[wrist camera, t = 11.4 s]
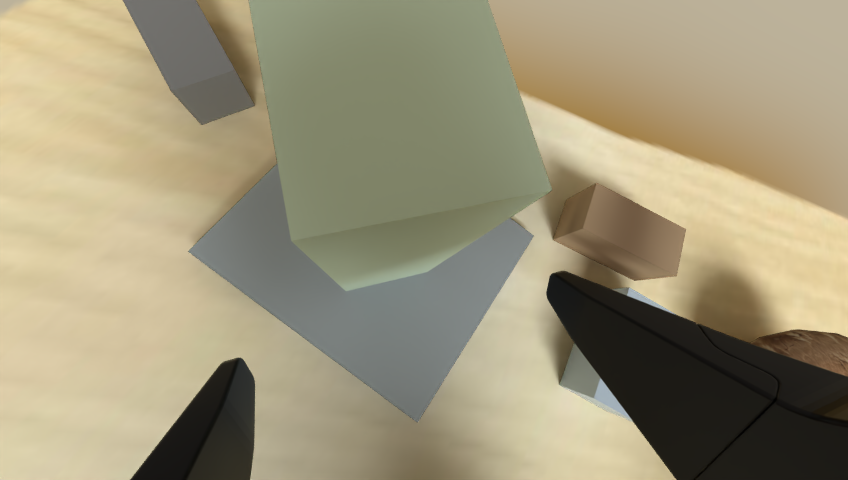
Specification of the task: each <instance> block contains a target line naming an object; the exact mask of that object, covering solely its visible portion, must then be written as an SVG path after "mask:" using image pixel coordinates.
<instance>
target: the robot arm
mask: <svg viewBox="0 0 848 480" xmlns="http://www.w3.org/2000/svg"><path fill="white" fill-rule="evenodd" d="M546 294H547V299H548V301H549V302H550V304H551V306H552V307H553V309H554V311H555V312H556V314H557V316H558V317H559V319H560V321H561V322H562V324H563V326H564V327H565V329H566V331H567V332H568V334H569V335H570V337H571V339H572V340H573V342H574V343H575V344H576V346H577V347H578V349H579V350H580V351H581V353H582V354H583V355H584V357H585V358H586V359H587V361H588V362H589V363H590V365H591V366H592V367H593V369H594V370H595V371H596V373H597V374H598V375H599V377H600V378H601V379H602V381H603V382H604V383H605V385H606V386H607V387H608V389H609V390H610V391H611V393H612V394H613V395H614V397H615V398H616V399H617V401H618V402H619V403H620V405H621V406H622V407H623V409H624V410H625V411H626V413H627V414H628V415H629V417H630V418H631V419H632V421H633V422H634V424H635V425H636V426H637V428H638V429H639V430H640V432H641V433H642V434H643V436H644V437H645V438H646V440H647V441H648V442H649V444H650V445H651V446H652V448H653V449H654V450H655V452H656V453H657V454H658V456H659V457H660V458H661V460H662V461H663V462H664V464H665V465H666V466H667V468H668V469H669V470H670V472H671V473H672V474H673V476H674V477H675V478H676V480H848V376H845V375H842V374H839V373H835V372H832V371H830V370H827V369H824V368H821V367H818V366H815V365H812V364H809V363H806V362H803V361H800V360H797V359H794V358H791V357H788V356H785V355H782V354H780V353H777V352H774V351H771V350H768V349H765V348H762V347H759V346H756V345H754V344H751V343H748V342H745V341H742V340H739V339H737V338H734V337H732V336H729V335H726V334H724V333H721V332H718V331H716V330H713V329H711V328H708V327H706V326H703V325H701V324H696V323H695V322H693V321H690V320H688V319H685V318H683V317H680V316H678V315H675V314H673V313H670V312H668V311H665V310H663V309H660V308H657V307H655V306H652V305H650V304H647V303H645V302H642V301H640V300H637V299H635V298H632V297H630V296H627V295H625V294H622V293H619V292H617V291H614V290H612V289H609V288H607V287H604V286H602V285H599V284H597V283H594V282H592V281H589V280H587V279H584V278H581V277H579V276H576V275H574V274H571V273H569V272H566V271H559V272H556V273H552V274H551V275H550V278H549V283H548V287H547V292H546ZM254 423H255V381H254V377H253V375H252V373H251V372H250V370H249V368H248V367H247V365H246V363H245V362H244V360H243V359H242V358H235V359H231V360H228V361H225V362H223V363H222V364H220V366H219V367H218V368H217V369H216V371H215V372H214V373H213V375H212V376H211V377H210V378H209V380H208V381H207V382H206V383H205V385H204V386H203V387H202V389H201V390H200V391H199V392H198V394H197V395H196V396H195V398H194V399H193V400H192V401H191V403H190V404H189V405H188V406H187V408H186V409H185V410H184V412H183V413H182V414H181V415H180V417H179V418H178V419H177V421H176V422H175V423H174V424H173V426H172V427H171V428H170V429H169V431H168V432H167V433H166V435H165V436H164V437H163V438H162V440H161V441H160V442H159V444H158V445H157V446H156V447H155V449H154V450H153V451H152V453H151V454H150V455H149V456H148V458H147V459H146V460H145V461H144V463H143V464H142V465H141V467H140V468H139V469H138V470H137V472H136V473H135V474H134V476H133V477H132V478H131V479H130V480H250V476H251V468H252V460H253V451H254Z"/></svg>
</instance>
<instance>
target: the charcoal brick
mask: <svg viewBox="0 0 848 480" xmlns="http://www.w3.org/2000/svg"><path fill="white" fill-rule="evenodd" d="M123 2H124V3H125V5H126V7H127V9H128V11H129V13H130V15H131V17H132V19H133V20H134V22H135V24H136V26H137V28H138V30H139V32H140V34H141V35H142V37H143V39H144V41H145V43H146V45H147V47H148V49H149V51H150V52H151V54H152V56H153V58H154V60H155V62H156V64H157V66H158V67H159V69H160V71H161V73H162V75H163V77H164V79H165V81H166V82H167V84H168V86H169V88H170V90H171V92H172V93H173V94H174V95H175V96H176V97H177V98H178V99H179V100H180V102H181V103H182V104H183V105H184V106H185V107H186V108H187V109H188V110H189V112H190V113H191V114H192V115H193V116H194V117H195V118H196V119H197V121H198V122H199V123H200V124H201V125H203V124H206V123H209V122H211V121H214V120H217V119H220V118H222V117H225V116H228V115H231V114H233V113H236V112H239V111H242V110H244V109H247V108H250V107H253V106H255V105H254V103H253V102H252V100H251V98H250V96H249V94H248V93H247V91H246V89H245V87H244V85H243V83H242V82H241V80H240V78H239V76H238V74H237V73H236V71H235V69H234V67H233V65H232V64H231V62H230V60H229V58H228V57H227V55H226V53H225V51H224V49H223V48H222V46H221V44H220V42H219V40H218V39H217V37H216V35H215V33H214V32H213V30H212V28H211V26H210V24H209V23H208V21H207V19H206V17H205V16H204V14H203V12H202V10H201V8H200V7H199V5H198V3H197V1H196V0H123Z"/></svg>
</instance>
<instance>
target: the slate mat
mask: <svg viewBox="0 0 848 480" xmlns="http://www.w3.org/2000/svg"><path fill="white" fill-rule="evenodd" d="M532 238H533V235H532V234H531V233H529V232H528V231H527V230H525V229H524V228H523V227H521V226H520V225H519V224H518V223H516V222H515V221H514V220H512V219H511V218H509V219H507V220H506V221H504V222H503V223H501V224H500V225H498V226H497V227H495V228H494V229H492V230H491V231H489V232H488V233H486V234H485V235H483V236H482V237H480V238H478V239H477V240H475V241H474V242H472V243H471V244H469V245H468V246H466V247H465V248H463V249H462V250H460V251H459V252H457V253H456V254H454V255H453V256H451V257H449V258H448V259H446V260H445V261H443V262H442V263H440V264H439V265H437V266H436V267H434V268H433V269H431V270H430V271H428V272H425V273H421V274H417V275H413V276H409V277H404V278H400V279H396V280H392V281H388V282H383V283H379V284H375V285H371V286H366V287H362V288H358V289H354V290H350V291H345V290H344V289H343V288H342V287H341V286H340V285H338V284H337V283H336V282H335V281H334V280H333V279H332V278H331V277H330V276H329V275H328V274H327V273H325V272H324V271H323V270H322V269H321V268H320V267H319V266H318V265H317V264H316V263H315V262H313V261H312V260H311V259H310V258H309V257H308V256H307V255H306V254H305V253H304V252H303V251H302V250H300V249H299V248H298V247H297V246H296V245H295V244H294V243H293V242H292V241H291V237H290V232H289V226H288V220H287V215H286V209H285V203H284V198H283V192H282V187H281V181H280V175H279V170H278V164H276V165H275V166H274V167H273V168H272V169H271V170H270V171H269V172H268V173H267V174H266V175H265V176H264V177H263V178H262V179H261V180H260V181H259V182H258V183H257V184H256V185H255V186H254V187H253V188H252V189H251V190H250V191H249V192H248V193H247V194H246V195H245V196H244V197H243V198H242V199H241V200H240V201H239V202H237V203H236V204H235V205H234V206H233V207H232V208H231V209H230V210H229V211H228V212H227V213H226V214H225V215H224V216H223V217H222V218H221V219H220V220H219V221H218V222H217V223H216V224H215V225H214V226H213V227H212V228H211V229H210V230H209V231H208V232H207V233H206V234H205V235H204V236H203V237H202V238H201V239H200V240H199V241H198V242H197V243H196V244H195V245H194V246H193V247H192V248H191V249H190V250H189V251H188V252H189V253H191V254H192V255H193V256H195V257H196V258H197V259H199V260H200V261H201V262H203V263H204V264H205V265H207V266H208V267H209V268H211V269H212V270H213V271H215V272H216V273H217V274H219V275H220V276H221V277H223V278H224V279H226V280H227V281H228V282H230V283H231V284H232V285H234V286H235V287H236V288H238V289H239V290H240V291H242V292H243V293H244V294H246V295H247V296H248V297H250V298H251V299H252V300H254V301H255V302H256V303H258V304H259V305H260V306H262V307H263V308H264V309H266V310H267V311H268V312H270V313H271V314H272V315H274V316H275V317H276V318H278V319H279V320H280V321H282V322H283V323H284V324H286V325H287V326H289V327H290V328H291V329H293V330H294V331H295V332H297V333H298V334H299V335H301V336H302V337H303V338H305V339H306V340H307V341H309V342H310V343H311V344H313V345H314V346H315V347H317V348H318V349H319V350H321V351H322V352H323V353H325V354H326V355H327V356H329V357H330V358H331V359H333V360H334V361H335V362H337V363H338V364H339V365H341V366H342V367H343V368H345V369H346V370H347V371H349V372H350V373H352V374H353V375H354V376H356V377H357V378H358V379H360V380H361V381H362V382H364V383H365V384H366V385H368V386H369V387H370V388H372V389H373V390H374V391H376V392H377V393H378V394H380V395H381V396H382V397H384V398H385V399H386V400H388V401H389V402H390V403H392V404H393V405H394V406H396V407H397V408H398V409H400V410H401V411H402V412H404V413H405V414H406V415H408V416H409V417H410V418H412V419H413V420H415V421H416V422H417V423H418V421H419V420H420V418H421V416H422V415H423V413H424V412H425V410H426V408H427V407H428V405H429V404H430V402H431V400H432V399H433V397H434V395H435V394H436V392H437V391H438V389H439V387H440V386H441V384H442V383H443V381H444V379H445V378H446V376H447V375H448V373H449V371H450V370H451V368H452V367H453V365H454V363H455V362H456V360H457V359H458V357H459V355H460V354H461V352H462V350H463V349H464V347H465V346H466V344H467V342H468V341H469V339H470V338H471V336H472V334H473V333H474V331H475V330H476V328H477V326H478V325H479V323H480V322H481V320H482V318H483V317H484V315H485V314H486V312H487V310H488V309H489V307H490V306H491V304H492V302H493V301H494V299H495V297H496V296H497V294H498V293H499V291H500V289H501V288H502V286H503V285H504V283H505V281H506V280H507V278H508V277H509V275H510V273H511V272H512V270H513V269H514V267H515V265H516V264H517V262H518V261H519V259H520V257H521V256H522V254H523V252H524V251H525V249H526V248H527V246H528V244H529V243H530V241H531V240H532Z"/></svg>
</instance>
